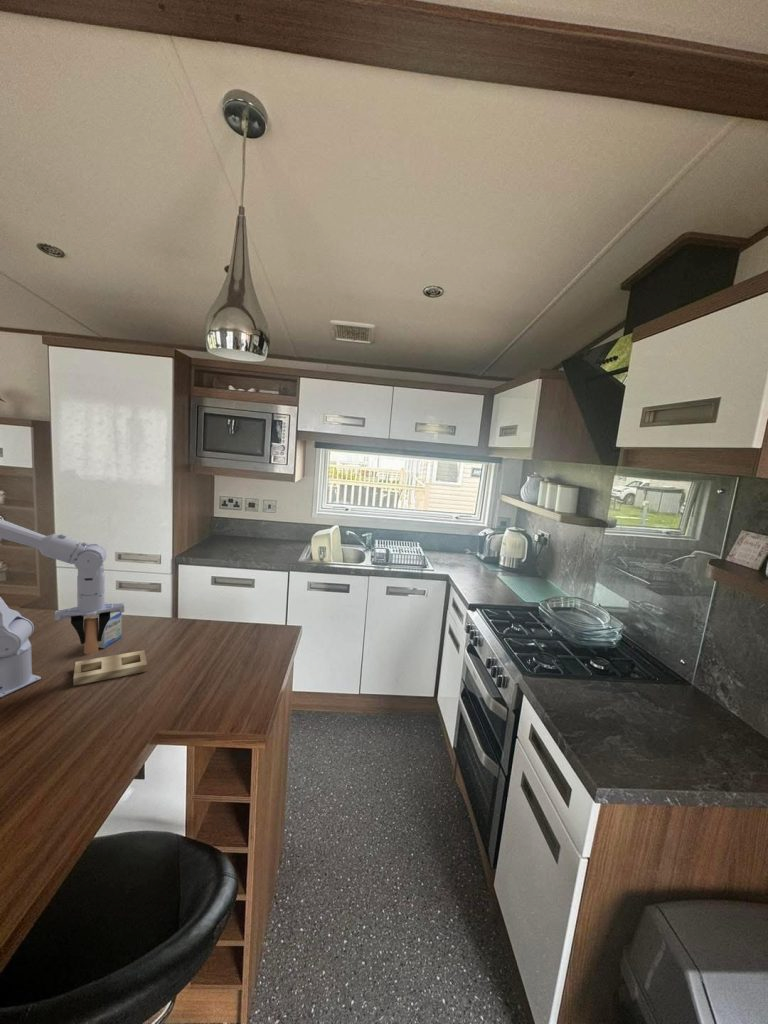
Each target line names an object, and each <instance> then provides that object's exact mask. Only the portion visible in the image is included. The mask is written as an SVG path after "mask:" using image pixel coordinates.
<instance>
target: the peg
mask: <svg viewBox="0 0 768 1024" xmlns="http://www.w3.org/2000/svg"><path fill="white" fill-rule="evenodd" d="M98 617H99V616H88V617H86V618H84V644H83V649H84V650H83V653H84V654H85V655H93V654H96V653H97V652H98V651H99V648H98Z"/></svg>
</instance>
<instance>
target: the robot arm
mask: <svg viewBox="0 0 768 1024" xmlns="http://www.w3.org/2000/svg"><path fill="white" fill-rule="evenodd" d="M0 539H3V540H6V541H9V542H13V543H18V544H22V545H25V546H28V547H32V548H36V549H38V551H39V552H40V554H41V555H42V556H44V557H47V558H50V559H54V560H56V561H60V562H63V563H67V564H70V565H74V568H75V569H76V570H77V576H76V577H77V581H76V585H77V589H76V590H77V592H76V593H77V594H76V596H77V603H76V604H77V606H74V607H70V608H64V609H59V610H55V611H54V621H60V620H62V619H63V620H64V619H70V625H72V627H73V628H74V630H75V631H76V633H77V635H78V639H79V640H80V641H79V642H80V645H84V619H85V618H84V617H95V616H96V615H98V617H99V632H98V642H99V641H101V639H102V634H103V631H104V629H105V627H106V625H107V623H108V621H109V619H110V613H114V612H120V613H122V614H123V613H125V603H124V602H123V603H105V590H106V589H105V587H106V586H105V583H106V582H105V581H106V578H105V576H106V575H105V564H104V562H105V560H106V559H107V551H106V549H105V548H103V547H102V546H100V545H99V544H96V543H91V544H90V543H89V542H88V541H83V542H81V541H78V540H76V539H72V538H69V537H68V535H67V534H65V533H60V534H57V533H53V534H49V535H45V534H42V533H39V532H36V531H34V530H31V529H28V528H27V527H23V526H20V525H17V524H15V523H12V522H10V521H7V520H4V519H2V518H0ZM34 631H35V626H34V623H33V622H32V621H31V620H30V619H28V618H26V617H24V616H23V615H22V614H21V613H20V611H18V610H15V609H11V608H10V607H9V606H8V605H7V604H6V602H5V600H4V599H3V598H2V597H1V596H0V698H3V697H5V696H7V695H10V694H11V693H13V692H16V691H18V690H20V689H22V688H24V687H26V686H29V685H31V684H33V683H36V682H38V681H39V680H41V679H42V677H41V676H39V675H36V674H33V668H32V667H33V666H32V665H33V663H32V643H31V642H30V640H29V639H30V638H31V636H32V635H33V633H34ZM29 637H30V638H29Z"/></svg>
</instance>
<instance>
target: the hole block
mask: <svg viewBox="0 0 768 1024" xmlns="http://www.w3.org/2000/svg"><path fill="white" fill-rule="evenodd" d="M147 670H148V662H147V657H146V652H145V650H144V649H143V650H138V651H132V652H126V653H119V654H114V655H113V654H112V655H109V656H103V657H102V656H101V657H96V658H89V659H85V660H84V659H83V660H79V661H75V666H74V671H73V686H79V685H84V684H91V683H93V682H99V681H104V680H110V679H114V678H120V677H124V676H125V677H126V676H130V675H135V674H138V673H139V674H140V673H145V672H148V671H147Z"/></svg>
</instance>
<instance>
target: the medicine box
mask: <svg viewBox="0 0 768 1024" xmlns="http://www.w3.org/2000/svg"><path fill="white" fill-rule="evenodd" d="M122 615H123V612H122V613H120V612H114V613H110V619H109V621H108V623H107V625H106V627H105V629H104V631H103V634H102V639H101V641H99V642H98V649H106V648H107V647H109V646H110V645H112V644H113V643H115V642H116V641H118V640H119V639H120V638H122V637H123V636H122V621H123V620H122ZM97 617H98V632H99V616H97Z"/></svg>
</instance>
